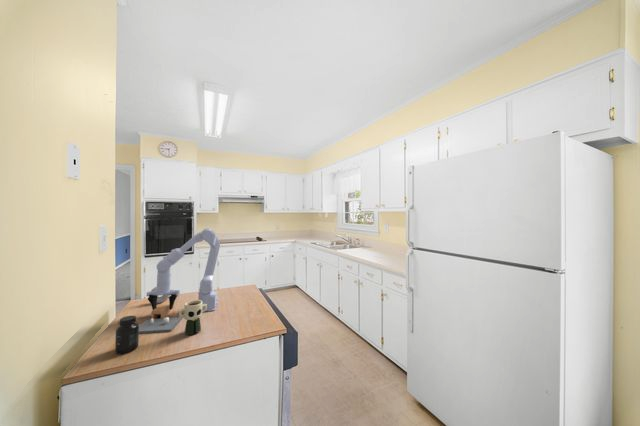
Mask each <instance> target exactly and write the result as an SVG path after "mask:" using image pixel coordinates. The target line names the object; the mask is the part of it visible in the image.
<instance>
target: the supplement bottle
mask: <svg viewBox="0 0 640 426" xmlns="http://www.w3.org/2000/svg"><path fill="white" fill-rule="evenodd" d="M118 325H119V326H117V328H116V329H115V340H114V341H115V342H114V343H115V345H114V347H115V348H114V352H115V354H117V355H126V354H129V352H130V353H132V352H134V351H135V350H137V349H138V348H139V344H140V343H139V338H140V337H139V336H140V334H139V326H140V323H138V322H137V317H136V315H127V316H123V317H121V318H120V319H119V323H118ZM133 350H134V351H133ZM131 351H132V352H131ZM125 353H126V354H125Z"/></svg>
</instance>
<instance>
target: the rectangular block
mask: <svg viewBox="0 0 640 426" xmlns="http://www.w3.org/2000/svg"><path fill="white" fill-rule="evenodd" d="M169 306H170V302H169V301H164V302H162V303H159V305H157V307H156V308H155V309H154V310H153V309H152V310H151V311H150V312H151V313H150V314H151V317H150V319H157V317H159V316H160V319H161V318H166V317H168V316H169V314H170V313H172V311H174V307H173V308H172V309H171V310H169Z"/></svg>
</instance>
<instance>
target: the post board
mask: <svg viewBox="0 0 640 426" xmlns="http://www.w3.org/2000/svg"><path fill="white" fill-rule="evenodd" d="M182 320H183V317H179V316H178V317H169V316H166V317H165V318H161V317H160V318H155V319H151V318H148V319H147V320H145V321H144V322H143V323H141V324H139V335H142V334H154V333H156V334H157V333H169V332H172V331H173V330H174V329H175V328H176V326H178V325H179V323H180V322H182Z"/></svg>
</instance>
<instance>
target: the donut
mask: <svg viewBox="0 0 640 426" xmlns="http://www.w3.org/2000/svg"><path fill="white" fill-rule="evenodd" d="M150 291H157V286H155V287H153V288H152V289H151V290H150ZM170 296H171V295H161V296H158V297H157V304H161V303H163V302H167V300H169V297H170Z"/></svg>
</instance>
